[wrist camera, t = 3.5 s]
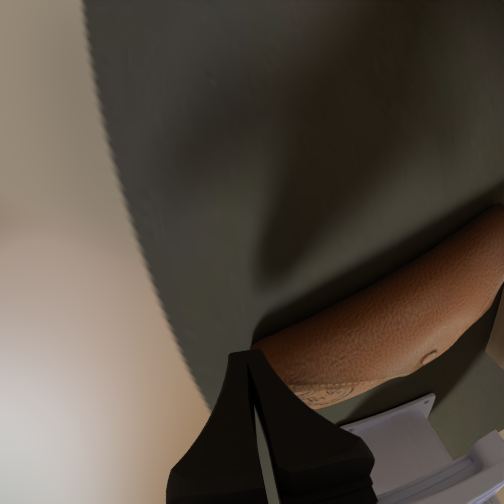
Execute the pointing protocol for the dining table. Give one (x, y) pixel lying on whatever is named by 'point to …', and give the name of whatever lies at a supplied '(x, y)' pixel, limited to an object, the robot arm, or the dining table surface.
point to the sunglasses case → (393, 318)
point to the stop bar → (497, 336)
